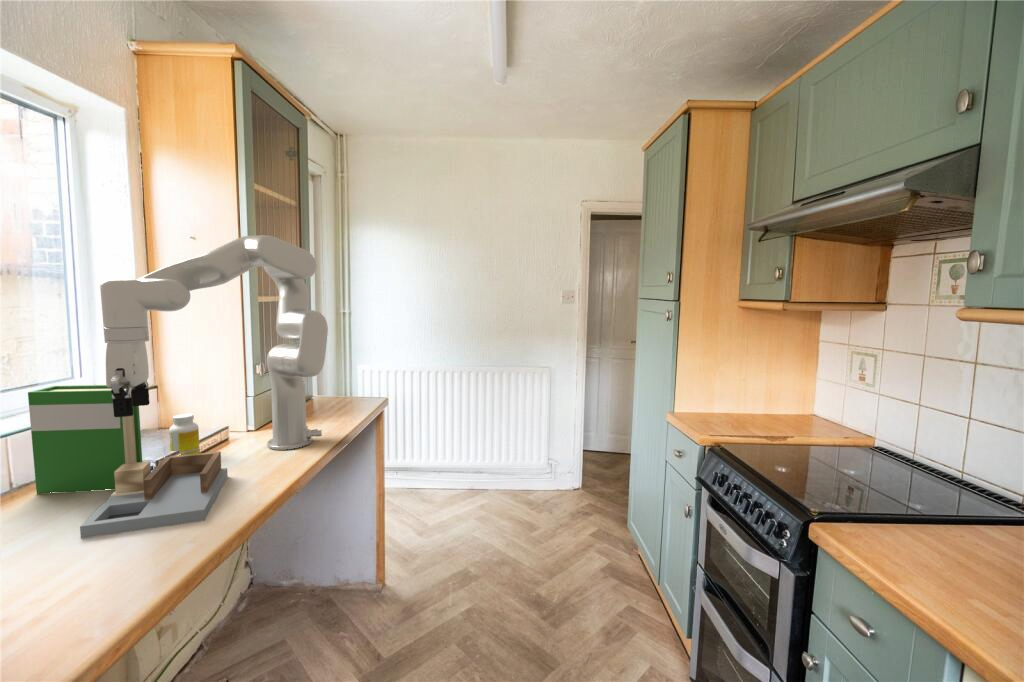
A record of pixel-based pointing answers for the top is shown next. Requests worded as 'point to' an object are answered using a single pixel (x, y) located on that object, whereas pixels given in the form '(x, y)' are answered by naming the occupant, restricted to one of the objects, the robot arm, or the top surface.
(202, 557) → the top surface
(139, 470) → the block
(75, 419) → the hardback book
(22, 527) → the top surface
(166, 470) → the brown wooden u-shaped frame
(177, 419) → the supplement bottle
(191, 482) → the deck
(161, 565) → the top surface
